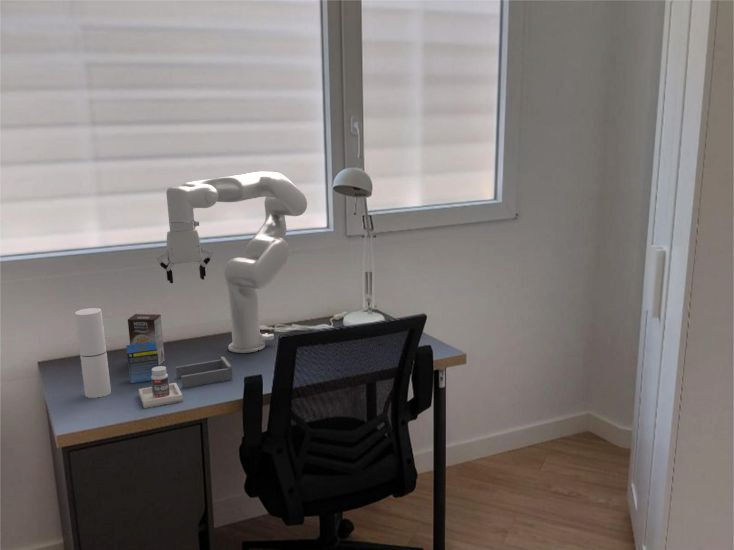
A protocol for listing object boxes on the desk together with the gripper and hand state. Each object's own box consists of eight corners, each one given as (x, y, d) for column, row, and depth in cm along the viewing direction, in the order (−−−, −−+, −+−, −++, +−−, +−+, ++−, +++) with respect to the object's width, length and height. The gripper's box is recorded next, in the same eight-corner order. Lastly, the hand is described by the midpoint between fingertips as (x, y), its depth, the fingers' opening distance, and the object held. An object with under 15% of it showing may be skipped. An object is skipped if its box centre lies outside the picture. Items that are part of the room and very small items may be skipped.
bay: (224, 369, 226) (223, 356, 225) (232, 379, 217) (231, 366, 216) (176, 377, 220) (175, 364, 219) (182, 388, 211) (181, 374, 210)
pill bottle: (154, 400, 201) (151, 372, 199) (151, 395, 205) (148, 367, 203) (171, 397, 203) (168, 369, 201) (167, 391, 207) (165, 364, 205)
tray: (176, 388, 211) (175, 382, 210) (182, 401, 201) (182, 394, 201) (139, 395, 206) (138, 389, 206) (144, 408, 197) (143, 401, 197)
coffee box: (131, 366, 231) (125, 319, 228) (139, 360, 237) (134, 313, 234) (158, 367, 230) (153, 319, 227) (165, 360, 236) (161, 313, 233)
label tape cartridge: (159, 375, 222) (156, 337, 220) (160, 379, 219) (156, 341, 216) (130, 379, 220) (125, 341, 217) (130, 384, 216) (125, 345, 213)
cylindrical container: (95, 399, 204) (85, 315, 199) (79, 395, 208) (69, 312, 203) (116, 391, 210) (106, 309, 205) (100, 387, 214) (90, 306, 208)
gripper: (207, 222, 227) (211, 275, 230) (151, 227, 220) (156, 281, 224) (212, 225, 220) (216, 279, 224) (155, 231, 213) (160, 286, 217)
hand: (186, 280), depth 224 cm, fingers open, 9 cm apart
